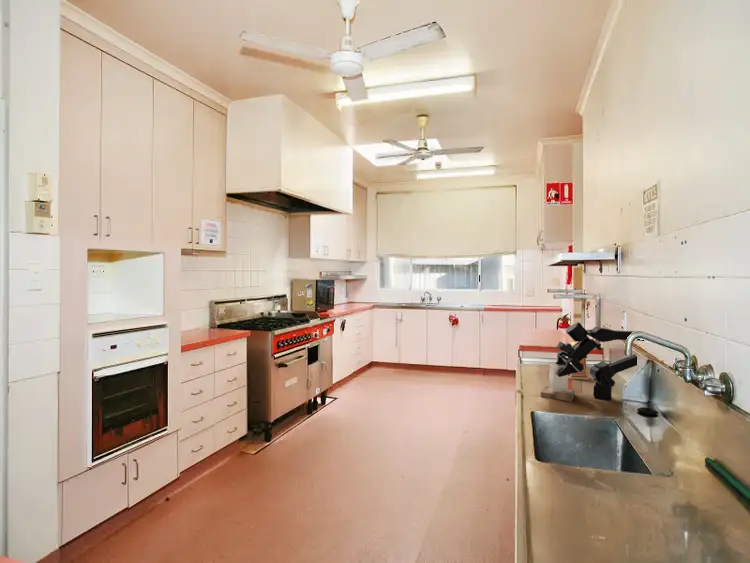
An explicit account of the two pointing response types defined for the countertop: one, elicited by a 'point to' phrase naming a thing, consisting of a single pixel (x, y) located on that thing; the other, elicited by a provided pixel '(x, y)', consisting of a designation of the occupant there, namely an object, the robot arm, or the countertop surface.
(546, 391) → the walnut block
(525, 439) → the countertop surface
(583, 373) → the milk carton
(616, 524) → the countertop surface
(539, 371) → the countertop surface
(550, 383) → the cream tea tin
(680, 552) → the countertop surface
